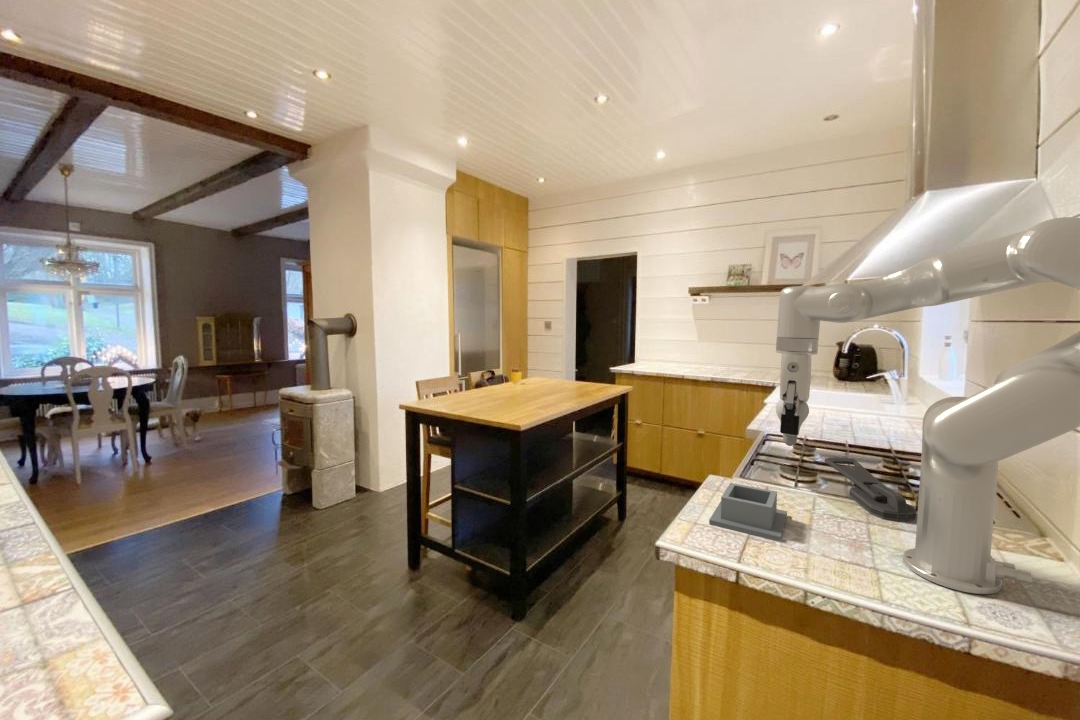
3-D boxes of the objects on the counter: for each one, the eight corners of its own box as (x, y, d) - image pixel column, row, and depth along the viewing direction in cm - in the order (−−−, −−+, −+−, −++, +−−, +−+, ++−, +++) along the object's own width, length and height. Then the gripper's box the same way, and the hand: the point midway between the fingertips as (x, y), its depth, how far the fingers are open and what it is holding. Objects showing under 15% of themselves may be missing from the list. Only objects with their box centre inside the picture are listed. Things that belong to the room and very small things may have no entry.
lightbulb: (792, 451, 87) (796, 399, 86) (766, 443, 93) (769, 393, 92) (812, 448, 90) (816, 397, 88) (786, 440, 95) (789, 391, 94)
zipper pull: (854, 457, 119) (925, 493, 94) (853, 480, 119) (923, 522, 94) (820, 456, 120) (882, 492, 95) (819, 479, 120) (880, 521, 95)
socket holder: (786, 515, 99) (787, 490, 98) (780, 541, 87) (781, 513, 87) (722, 501, 107) (723, 478, 106) (709, 524, 95) (709, 498, 95)
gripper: (816, 350, 80) (808, 443, 82) (819, 344, 94) (813, 424, 96) (770, 348, 84) (765, 436, 86) (780, 343, 98) (775, 419, 100)
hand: (790, 429), depth 91 cm, fingers closed on lightbulb, 5 cm apart
